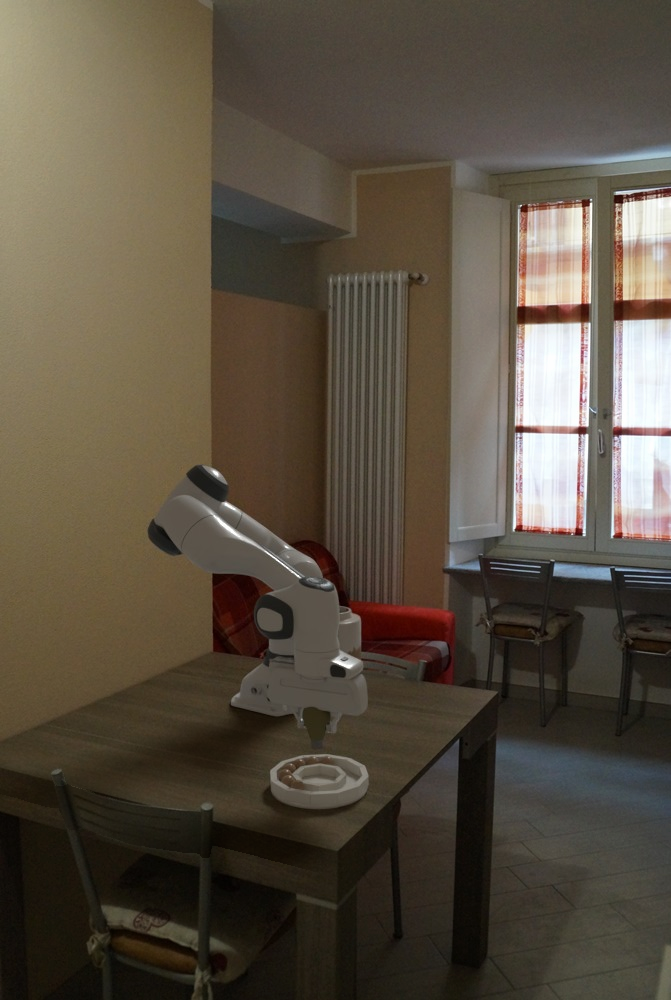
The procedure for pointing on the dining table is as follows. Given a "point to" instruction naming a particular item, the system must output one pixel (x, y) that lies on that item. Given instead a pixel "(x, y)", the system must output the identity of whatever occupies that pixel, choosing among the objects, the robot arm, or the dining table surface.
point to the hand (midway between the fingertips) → (317, 730)
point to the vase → (349, 632)
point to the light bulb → (316, 725)
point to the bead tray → (319, 781)
